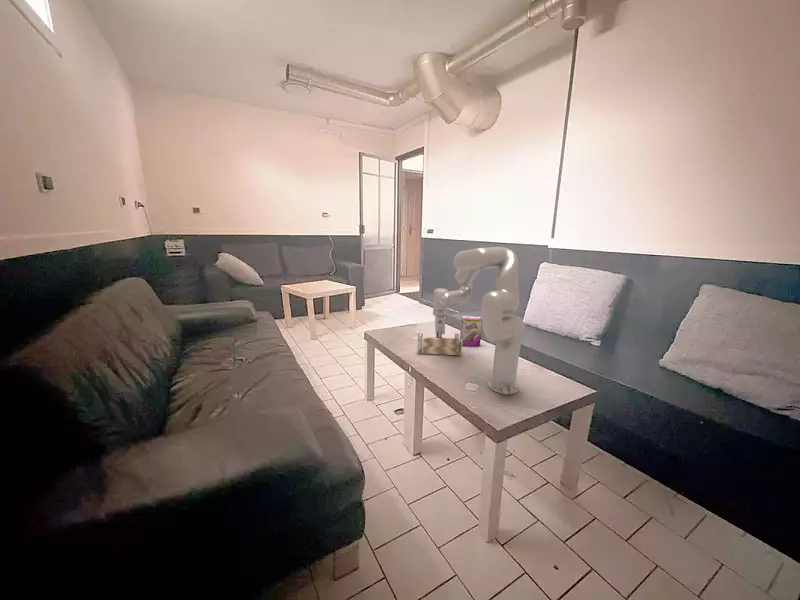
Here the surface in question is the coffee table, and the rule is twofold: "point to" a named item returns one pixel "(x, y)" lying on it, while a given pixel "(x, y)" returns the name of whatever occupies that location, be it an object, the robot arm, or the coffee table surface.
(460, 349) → the gate
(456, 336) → the post
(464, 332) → the candy bar box
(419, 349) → the hinge post
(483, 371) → the coffee table surface
